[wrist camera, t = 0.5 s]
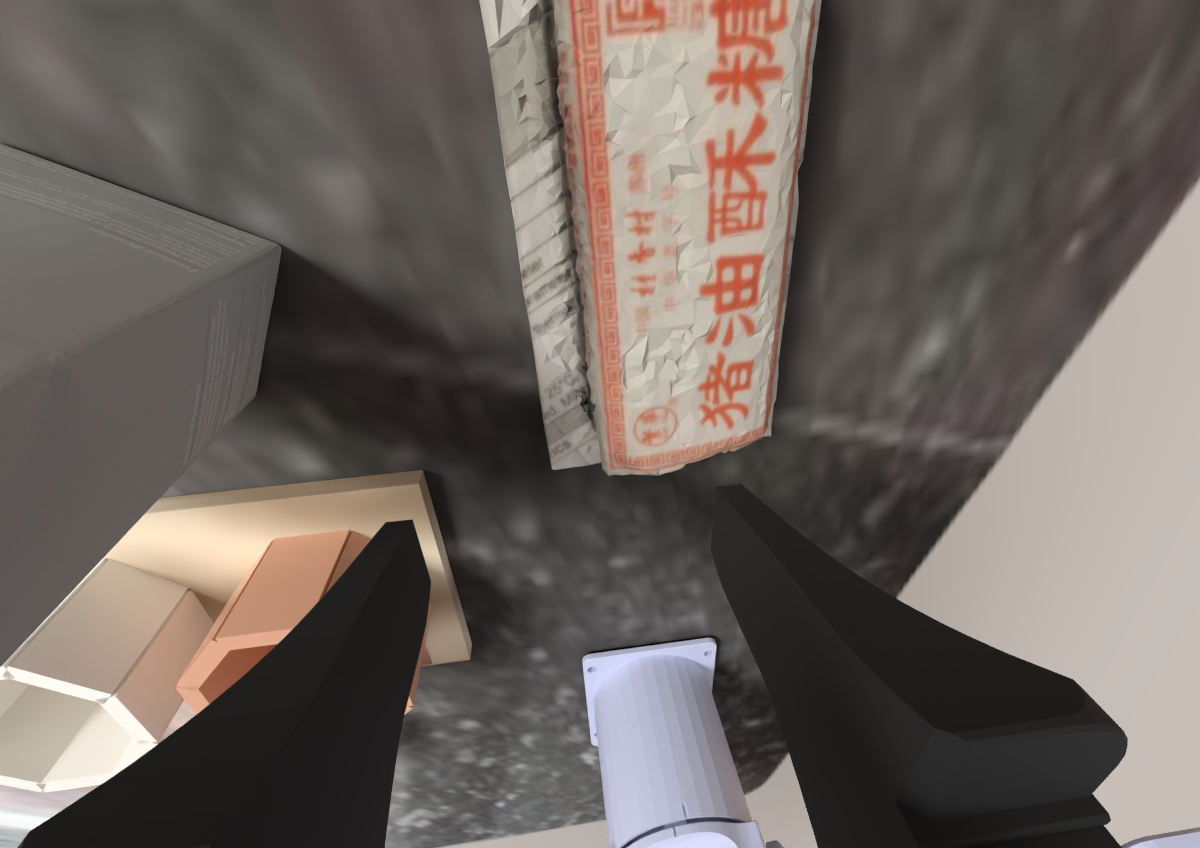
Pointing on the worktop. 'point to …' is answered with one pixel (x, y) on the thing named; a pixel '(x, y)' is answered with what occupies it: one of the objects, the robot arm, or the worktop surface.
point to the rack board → (259, 515)
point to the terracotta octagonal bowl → (272, 611)
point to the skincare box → (108, 366)
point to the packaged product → (653, 214)
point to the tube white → (97, 679)
